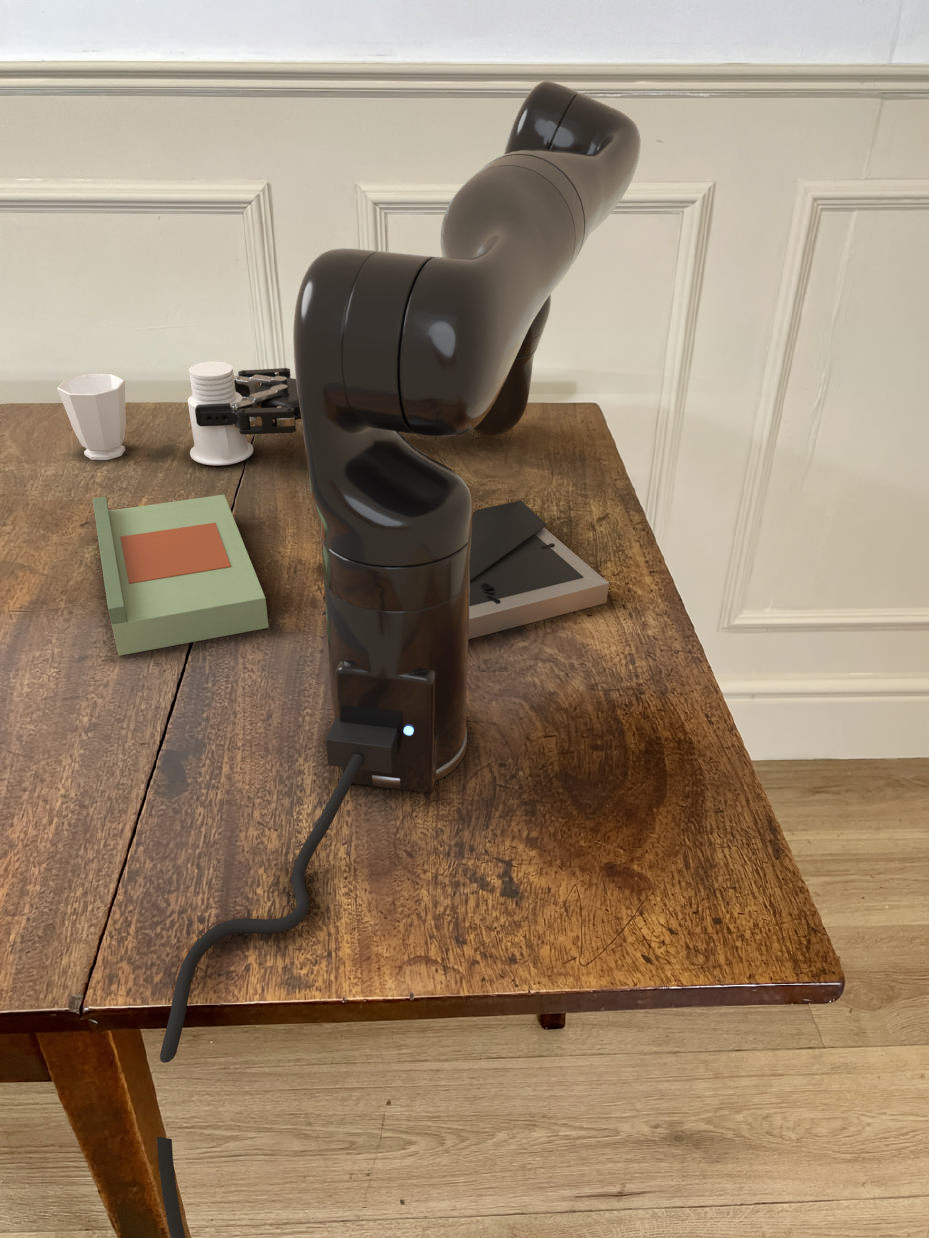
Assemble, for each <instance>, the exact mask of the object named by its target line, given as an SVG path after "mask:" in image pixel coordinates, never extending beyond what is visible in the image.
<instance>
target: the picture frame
mask: <svg viewBox="0 0 929 1238" xmlns="http://www.w3.org/2000/svg"><path fill="white" fill-rule="evenodd" d="M545 527H547V523H546V521H545V520H543V519H542V518H541V517H540V516H539V515H538V514H536V512H534V511H533V510H532V509H531V508H530V507H529V506H528V505H526V503H525V502H523V501H522V500H517V501H511V502H508V503H503V504H497V505H493V506H488V507H483V508H478V509H475V510H474V511H473V525H472V547H471V574H470V603H469V635H468V640H473V639H476V638H479V637H483V636H487V635H491V634H495V633H498V632H501V631H506V630H509V629H513V628H517V627H521V626H525V625H528V624H532V623H536V622H540V621H543V620H549V619H551V618H555V617H559V616H562V615H566V614H570V613H573V612H574V613H575V612H579V611H581V610H584V609H589V608H593V607H596V606H600V605H603V604H607V603H608V602H607V601H608V594H609V587H610V586H609V585H610V582H608V581H607V580H606V579H605V578H604V577H602V576H601V575H600V574H599V573H598V572H597V571H596V570H595V569H593V568H592V567H591V566H589V564H587V562H585V561H584V560H583V559H581V557H579V556H578V555H577V554H576V553H574V552H573V550H571V549H570V548H569V547H567V545H565V544H564V543H563V542H562V541H560V540H559V539H558V538H557V537H556V536H555V535H554V534H553V533H551V532H550V531H549V530H548V529H547V528H545ZM321 559H322V562H323V557H322V556H321Z"/></svg>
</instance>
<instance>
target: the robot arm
mask: <svg viewBox="0 0 929 1238" xmlns="http://www.w3.org/2000/svg"><path fill="white" fill-rule="evenodd" d="M641 143H642V140H641V133H640V130H639V128H638V126H637V124H636V122H635V121H634V120H633V119H631V118H630V117H629V116H628V115H626V114H625V113H624V112H622V111H620V110H618V109H616V108H614V107H612V106H609V105H607V104H605V103H603V102H600V101H599V100H595V99H594V98H591V97H589V96H587V95H585V94H582V93H581V92H579V91H577V90H575V89H573V88H570V87H567V86H565V85H562V84H560V83H557V82H555V81H554V82H553V81H547V80H546V81H545V80H544V81H542V82H539V83H538V84H536V86H534V87H533V88H532V89H531V90H530V91H529V93H528V94H527V96H526V97H525V98H524V100H523V102H522V104H521V106H520V107H519V110H518V112H517V114H516V116H515V118H514V120H513V123H512V126H511V128H510V131H509V135H508V137H507V141H506V143H505V144H506V145H505V148H504V152H503V155H501V156H498V157H496V158H495V159H493V160H492V161H490V162H488V163H487V164H485V165H484V166H483V167H482V168H481V169H479V170H478V171H477V172H476V173H475V174H474V175H473V176H471V177H470V178H469V179H468V180H467V181H466V182H465V183H464V184H463V185H462V186H460V188H459V189H458V191H457V192H456V193H455V194H454V195H453V197H452V198H451V200H450V202H449V203H448V205H447V208H446V210H445V212H444V214H443V218H442V221H441V227H440V240H439V241H440V252H441V256H429V255H421V254H420V255H419V254H411V253H410V254H409V253H400V252H391V251H381V250H379V251H378V250H370V249H361V248H360V249H359V248H344V247H343V248H332V249H329V250H327V251H324V252H322V253H321V254H319V255H318V256H317V257H316V258H315V259H314V260H313V261H312V262H311V263H310V264H309V266H308V268H307V270H306V272H305V273H304V275H303V278H302V279H301V282H300V285H299V289H298V292H297V296H296V300H295V307H294V317H293V328H292V343H293V344H292V345H293V366H294V374H295V375H294V376H295V378H292V375H291V369H290V368H289V367H281V368H280V367H279V368H262V369H261V368H260V369H242V370H239V371H238V372H237V374H238V375H234V383H235V391H236V392H237V393H239V394H240V395H241V396H242V401H241V402H237V403H233V404H232V405H231V406H230V403H224V404H202V405H197V406H196V408H195V415H196V422H197V424H198V425H199V426H222V425H232V424H234V427H235V428H239V432H240V434H246V435H266V434H268V435H269V434H270V435H271V434H272V435H273V434H292V433H296V431H297V425H296V424H297V420H301V427H302V435H303V440H304V451H305V459H306V468H307V478H308V485H309V491H310V496H311V500H312V502H313V505H314V507H315V510H316V512H317V514H318V519H319V520H318V521H319V532H320V540H321V541H320V542H321V543H320V544H321V558H322V557H323V561H322V571H323V586H324V587H323V588H324V589H323V590H324V604H325V617H326V618H325V620H326V635H327V649H328V650H327V651H328V664H329V665H328V666H329V679H330V680H329V681H330V694H331V695H330V697H331V707H332V719H333V721H332V724H331V727H330V728H329V731H328V734H327V736H326V739H325V742H326V743H325V745H326V757H327V759H326V760H327V766H329V767H336V768H337V767H338V768H341V777H340V778H339V781H338V782H337V784H336V786H335V788H334V790H333V792H332V794H331V796H330V798H329V799H328V801H327V803H326V805H325V807H324V809H323V810H322V813H321V815H320V816H319V818H318V820H317V822H316V823H315V825H314V827H313V829H312V830H311V832H310V833H309V835H308V836H307V838H306V840H305V841H304V843H303V845H302V846H301V849H300V851H299V852H298V855H297V857H296V859H295V862H294V864H293V867H292V870H291V871H292V872H291V878H290V879H291V880H290V881H291V887H292V892H293V895H294V899H295V902H296V906H295V909H293V911H291V912H290V913H289V914H287V915H285V916H283V917H278V918H271V919H270V918H235V919H233V918H232V919H227V920H225V921H222V922H220V923H218V924H216V925H214V926H213V927H211V928H209V929H208V930H207V931H206V932H205V933H203V935H201V937H199V938H198V939H197V940H196V942H195V943H193V944H192V946H191V948H190V949H189V950H188V952H187V954H186V956H185V957H184V959H183V961H182V963H181V966H180V968H179V971H178V974H177V977H176V981H175V987H174V991H173V996H172V1002H171V1006H170V1010H169V1011H170V1012H169V1015H168V1016H169V1017H168V1020H167V1025H166V1028H165V1033H164V1036H163V1040H162V1045H161V1049H160V1054H159V1061H160V1062H162V1064H164V1063H165V1064H166V1063H169V1062H171V1061H173V1059H174V1058H175V1056H176V1055H177V1052H178V1047H179V1044H180V1039H181V1035H182V1032H183V1027H184V1024H185V1019H186V1013H187V1008H188V1003H189V999H190V998H189V996H190V993H191V987H192V981H193V978H194V974H195V972H196V968H197V966H198V964H199V962H200V960H201V959H202V958H203V956H204V955H205V953H207V951H209V949H210V948H211V947H213V946H214V945H215V944H216V943H217V942H218V941H220V940H221V939H223V938H224V937H228V936H230V935H234V934H261V935H262V934H265V935H266V934H269V935H270V934H279V933H284V932H288V931H290V930H292V929H294V928H296V927H297V926H298V925H300V924H301V923H302V922H303V921H304V920H305V918H307V915H308V913H309V911H310V908H311V901H310V895H309V893H308V889H307V887H306V883H305V881H306V880H305V876H306V872H307V869H308V866H309V864H310V861H311V859H312V857H313V855H314V853H315V851H316V850H317V848H318V846H319V845H320V843H321V842H322V840H323V839H324V837H325V835H326V833H327V832H328V830H329V829H330V826H331V825H332V823H333V821H334V819H335V817H336V815H337V813H338V811H339V810H340V808H341V805H342V804H343V801H344V800H345V798H346V796H347V794H348V792H349V790H350V788H351V787H352V784H357V785H363V786H370V787H371V786H372V787H378V788H385V789H394V790H404V791H412V792H419V793H426V794H427V793H428V794H429V793H432V792H433V790H434V786H435V784H436V782H437V781H439V780H441V779H443V778H445V777H446V776H447V775H449V774H451V773H452V772H453V771H454V770H455V769H456V768H457V767H458V766H459V765H460V763H461V762H462V761H463V759H464V757H465V754H466V751H467V745H468V729H467V706H468V705H467V704H468V701H467V698H468V667H469V666H468V665H469V664H468V663H469V639H468V635H469V603H470V574H471V547H472V525H473V513H474V504H473V496H472V493H471V490H470V488H469V486H468V485H467V483H466V481H465V480H464V479H463V478H462V477H461V476H460V475H459V474H458V473H456V471H455V470H453V469H452V468H450V467H448V466H447V465H444V464H443V463H441V462H439V461H438V460H436V459H434V458H433V457H431V456H429V455H428V454H426V453H424V452H423V451H422V450H420V449H419V448H417V447H416V446H415V445H413V444H412V443H411V442H409V440H407V439H406V438H405V437H404V436H403V435H402V433H404V434H405V433H406V434H411V435H418V436H425V437H435V438H436V437H437V438H441V437H443V438H444V437H456V436H461V435H464V434H467V433H469V432H471V431H472V430H473V431H474V432H475V433H477V434H479V435H482V436H485V437H497V436H501V435H504V434H506V433H507V432H509V431H511V430H512V429H513V428H515V426H517V424H518V423H520V422H521V419H522V418H523V416H524V414H525V412H526V409H527V405H528V403H529V397H530V390H531V382H532V376H533V366H534V365H533V363H534V358H535V353H536V352H537V350H538V347H539V344H540V342H541V339H542V336H543V334H544V331H545V328H546V325H547V322H548V320H549V316H550V313H551V305H552V293H553V291H555V289H556V288H557V286H558V285H559V284H560V283H561V282H562V280H563V279H564V278H565V276H566V274H568V272H569V270H570V268H571V267H572V266H573V264H574V263H575V261H576V260H577V258H578V256H579V255H580V253H581V251H582V249H583V247H584V245H585V243H586V241H587V240H588V238H589V236H590V235H591V234H592V233H593V232H594V231H595V230H597V228H598V227H599V226H601V225H602V223H603V222H605V220H606V219H607V218H609V216H610V215H611V214H612V213H613V211H614V210H616V208H617V206H618V205H619V203H620V202H621V200H622V199H623V198H624V196H625V194H626V192H627V190H628V188H629V187H630V184H631V183H632V180H633V178H634V175H635V173H636V170H637V167H638V165H639V164H638V163H639V160H640V154H641V146H642V145H641ZM156 1145H157V1147H156V1148H157V1160H158V1171H159V1179H160V1186H161V1193H162V1200H163V1205H164V1211H165V1212H164V1213H165V1216H166V1222H167V1228H168V1232H169V1235H170V1238H187V1237H186V1232H185V1228H184V1227H185V1226H184V1223H183V1219H182V1213H181V1209H180V1208H181V1206H180V1202H179V1196H178V1189H177V1183H176V1174H175V1173H176V1172H175V1166H174V1153H173V1151H174V1150H173V1139H172V1138H168V1137H163V1136H156Z"/></svg>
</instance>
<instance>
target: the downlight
mask: <svg viewBox="0 0 929 1238" xmlns="http://www.w3.org/2000/svg"><path fill="white" fill-rule="evenodd" d="M188 372H189V379H190V385H191V387H190V388H191V394H192V395H190V396H189V397H188V399H187V406H188V412H189V420H190V426H191V432H192V439H193V447H191V448H190V450H189V456H190V458H191V459H192V460H193V461H194V462H197V463H199V464H202V465H207V466H228V465H233V464H237V463H240V462H242V461H243V462H244V461H245V460H247V459H249V458H250V457H251V456H252V455H253V453H254V447H253V444H251V443H250V442H249V441H248V438H247V434H240V432H239V428H235V427H234V424H232V425H222V426H199V425H198V424H197V422H196V415H195V408H196V406H197V405H202V404H224V403H230V406H231V405H232V404H233V403H237V402H241V401H242V396H241V395H240V394H239V393H237V392H236V391H235V383H234V376H235V375H234V367H233V365H231V364H230V363H228V362H223V361H204V362H203V361H202V362H199V363H196V364H194V365H191V367H189V368H188Z"/></svg>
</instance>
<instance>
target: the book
mask: <svg viewBox="0 0 929 1238" xmlns="http://www.w3.org/2000/svg"><path fill="white" fill-rule="evenodd" d="M92 505H93V512H94V520H95V526H96V533H97V540H98V548H99V554H100V563H101V568H102V576H103V585H104V590H105V597H106V604H107V611H108V615H109V621H110V624H111V628H112V633H113V637H114V643H115V647H116V652H117V656H118V657H121V656H125V655H131V654H136V653H141V652H142V653H143V652H147V651H152V650H157V649H162V648H168V647H174V646H179V645H184V644H189V643H196V642H199V641H205V640H211V639H217V638H222V637H226V636H232V635H237V634H238V635H239V634H244V633H248V632H253V631H254V632H255V631H259V630H264V629H268V628H270V627H269V617H268V607H267V600H266V599H267V598H266V596H265V592H264V590H263V588H262V586H261V582H260V581H259V578H258V576H257V573H256V571H255V568H254V565H253V563H252V561H251V558H250V556H249V552H248V550H247V548H246V545H245V543H244V541H243V538H242V535H241V533H240V530H239V527H238V526H237V523H236V520H235V518H234V515H233V512H232V509H231V508H230V505H229V502H228V500H227V497H226V494H216V495H210V496H204V497H203V496H202V497H196V498H189V499H182V500H174V501H168V502H160V503H153V504H147V505H140V506H132V507H126V508H125V507H123V508H120V509H112V510H111V509H110V510H109V505H108V500H107V496H99V497H98V496H97V497H92Z"/></svg>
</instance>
